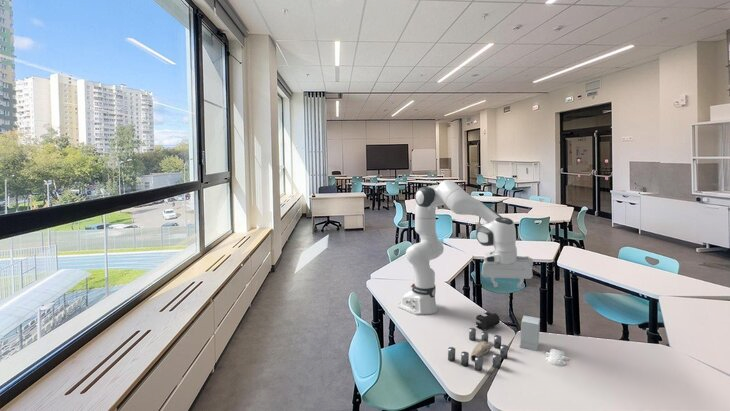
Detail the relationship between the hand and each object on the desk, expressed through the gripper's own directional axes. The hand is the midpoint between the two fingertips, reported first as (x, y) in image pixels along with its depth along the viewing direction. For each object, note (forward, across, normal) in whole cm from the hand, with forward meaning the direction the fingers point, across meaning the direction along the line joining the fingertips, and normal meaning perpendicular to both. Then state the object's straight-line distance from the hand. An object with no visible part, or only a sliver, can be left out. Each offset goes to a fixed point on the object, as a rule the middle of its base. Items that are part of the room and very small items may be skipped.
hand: (507, 287), depth 163 cm
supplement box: (+32, -7, -11) cm, 35 cm away
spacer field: (+30, +12, +6) cm, 32 cm away
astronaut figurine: (+33, -18, -4) cm, 38 cm away
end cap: (+31, +12, -22) cm, 40 cm away
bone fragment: (+30, +12, +6) cm, 33 cm away
